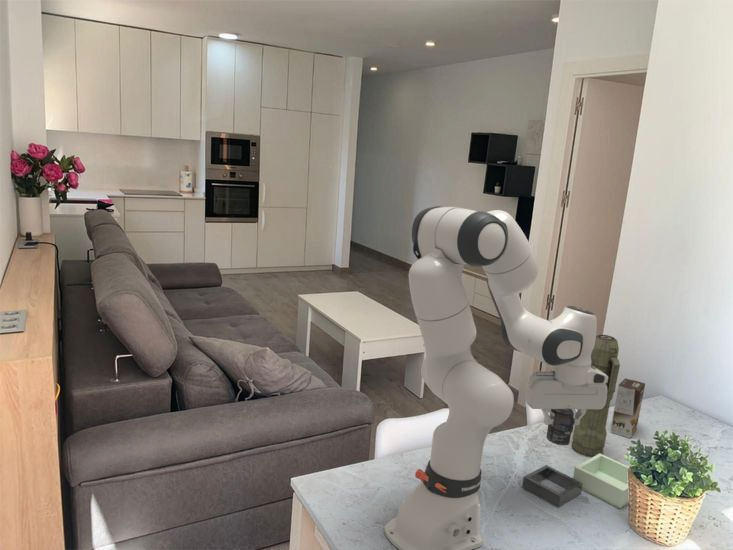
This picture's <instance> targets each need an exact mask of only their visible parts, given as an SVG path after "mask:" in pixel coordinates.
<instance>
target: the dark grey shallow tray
mask: <svg viewBox="0 0 733 550" xmlns="http://www.w3.org/2000/svg"><path fill="white" fill-rule="evenodd" d="M545 479H547V480H549V481H551V482H553V483H555V484H556V485H559V486H560V487H562V488H564V490H562V491H561V492H557V491H555V490H553V489H552V488H549V487H548V486H546V485H544V484H543V483H540V482H541V481H544V480H545ZM582 484H583V483H581V482H579V481H577V480H575V479H573V477H571V476H569V475H567V474H565V473H563V472H561V471H560V470H557V469H556V468H553V467H552V466H550V465H548V464H544V466H541V467H539V468H538V469H536V470H533V471H532V472H529V473H528V474H526V475H524V476H523V478H522V485H521V488H523V489H524V490H527V491H528V492H530V493H532V494H533V495H535V496H537V497H539V498H540V499H542V500H543V501H545V502H548V503H549V504H551V505H553V506H555V507H557V508H560V507H563V506H564V505H565V504H567V503H569V502H570V501H572V500H573V499H575V498H577V497H578V496H580V495H581V494H582V491H583V490H582Z"/></svg>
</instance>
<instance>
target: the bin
mask: <svg viewBox="0 0 733 550" xmlns="http://www.w3.org/2000/svg"><path fill="white" fill-rule="evenodd" d="M629 467H630V466H628V465H626V464H624V463H622V462H619V461H618V460H616V459H613V458H611V457H609V456H607V455H604V454H600V453H599V454H598V455H596V456H594V457H589V459H587V460H585V461H583V462H581V463H580V464H577V465H575V466H574V471H573V477H572V478H573V479H575V480H577V481H579V482H581V483H583V484H582V490H581V491H585V492H586V493H589V494H590V495H592V496H594V497H596V498H597V499H599V500H600V501H601V500H602V501H603V502H605V503H607V504H610V505H611V506H612V507H615V508H617V509H618V510H621V509H622V508H624V507H626V505H628V504H629V503H628V484H627V472H628V468H629Z"/></svg>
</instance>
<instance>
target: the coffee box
mask: <svg viewBox="0 0 733 550" xmlns="http://www.w3.org/2000/svg"><path fill="white" fill-rule="evenodd" d="M645 388H646V383H645V382H641V381H638V380H633V379H629V378H624V379H623V380H622V381H621V382H620V383H619V384H618V387H617V393H616V399H615V404H614V409H613V415H612V421H611V426H610V430H609V432H610V433H612V434H616V435H618V436H621V437H625V438H626V439H627V438H628V439H631V438H632V437H633V435H634V433H635V432H636V431H637V428H638V425H639V418H640V414H641V413H640V412H641V406H642V403H643V397H644V392H645Z"/></svg>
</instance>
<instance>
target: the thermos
mask: <svg viewBox="0 0 733 550" xmlns="http://www.w3.org/2000/svg"><path fill="white" fill-rule="evenodd" d="M619 351H620V349H619V343H618V339H616V338H615V337H613V336H612V335H608V334H607V335H606V334H598V335H597V334H596V340H595V346H594V349H593V351H592V353H591V366H593V367H595V368H597V369H598V370H600V371H602V372H603V373H604V374H606V375H607V376H608V381H607V383H605V384H606V386H607V399H606V404H605V406H604V407H603V408H602V409H586V413H585V414H584V416H583V417H582V418H581V419H580V423H579V425H574V427H573V432H572V439H571V440H572V442H571V449H572V450H573V451H574V452H576V453H577V454H579V455H581V456H583V457H588V458H592V457H594V456H596V455H598V454H599V453H600V454H602V455H604V454H603V453H604V448H605V446H606V445H605V444H606V440H607V434H608V432H607V428H606V427H607V422H608V416H609V410H610V404H611V401H612V400H613V398H614V393H615V392H616V385H617V381H618V376H619V372H620V366H621V364H620V360H619V359H618V356H619Z"/></svg>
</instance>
